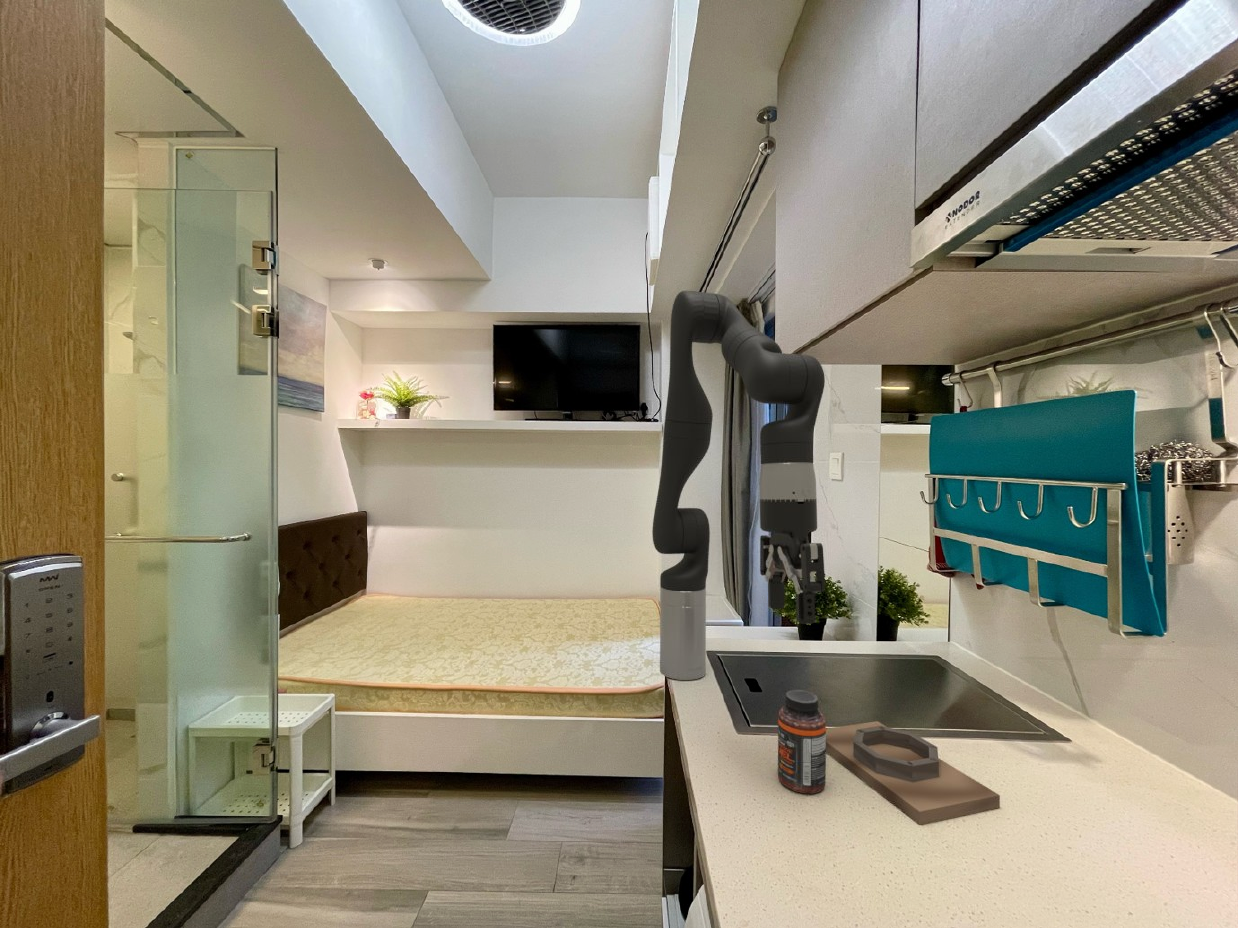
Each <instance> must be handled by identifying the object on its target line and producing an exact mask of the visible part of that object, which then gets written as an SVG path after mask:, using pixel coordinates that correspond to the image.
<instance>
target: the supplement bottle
mask: <svg viewBox="0 0 1238 928" xmlns="http://www.w3.org/2000/svg"><path fill="white" fill-rule="evenodd" d="M777 719H778V720H777V775H778V779H779V781H780V782H781V783H782V784H783V786H785V787H787V788H788V789H790V790H792V791H794V792H797V793H802V794H817V793H818V792H821V791H822V790H823V789H824V788H826V787H825V786H826V779H827V777H826V774H827V773H826V771H827V770H826V769H827V765H826V764H827V761H826V760H827V753H826V729H827V723H826V718H825V716H824V714H823V713H822V712H821V711H820V710H819V698H818V696H817V695H816V694H814V693H812V692H811V691H809V690H803V689H792V690H788V691H787V692H786V693H785V705H784V706H782V707H781V708H780V709H779V711H778V716H777Z"/></svg>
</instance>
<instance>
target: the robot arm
mask: <svg viewBox="0 0 1238 928" xmlns="http://www.w3.org/2000/svg"><path fill="white" fill-rule="evenodd" d="M669 335H670V336H669V337H670V338H669V340H670V341H669V342H670V344H669V346H670V347H669V349H670V350H669V376H668V377H669V378H668V388H667V389H668V390H667V399H666V407H665V408H666V409H665V415H664V423H663V424H664V426H663V436H662V455H661V456H662V457H661V467H660V468H661V469H660V477H659V485H658V490H657V496H656V501H655V507H654V513H653V519H652V520H653V521H652V528H651V529H652V531H651V532H652V543H653V546H654V549H655V550H656V551H657V553H659V554H662V555H675V554H676V555H682V554H683V556H682V558H681V560H680V561H678V563H677V564H675V565H673V566H671V567H669V568H667V569H665V570H663V571H662V572H661V574H660V577H659V578H660V579H659V587H660V589H659V591H660V596H659V597H660V598H659V600H660V601H659V605H660V607H659V609H660V610H659V616H660V617H659V618H660V619H659V621H660V622H659V626H660V627H659V672H660V673H661V675H663V676H665V677H667V678H669V679H673V680H680V681H692V680H698V679H701V678H702V677H704V676H705V675H706V667H707V666H706V657H707V656H706V655H707V654H706V653H707V652H706V649H707V648H706V647H707V645H706V644H707V642H706V641H707V640H706V639H707V635H706V634H707V633H706V632H707V622H706V621H707V616H706V615H707V600H706V597H707V595H706V594H707V577H708V573H709V557H710V556H709V555H710V537H711V535H710V534H711V532H710V522H709V518H708V516H707V513H706V512H705V511H704V510H703V509H702V508H699V507H679V504H680V499H681V496H682V495H681V494H682V492H683V490H684V487H685V485H686V484H687V482H688V480H689V479H690V477H691V475H692V474H693V473H694V472H695V470H696V469H697V468H698V467H699V465H700V463H701V462H702V460H703V459H704V457H705V456H706V454H707V453H708V450H709V447H710V445H711V438H712V437H711V436H712V429H713V428H712V427H713V408H712V406H711V403H710V401H709V399H708V396H707V395H706V393H705V391H704V389H703V387H702V384H701V383H700V381H699V378H698V375H697V373H696V370H695V367H694V361H693V360H694V359H693V358H694V357H693V343H697V344H720V346H721V347H720V348H721V353H722V357H723V359H724V361H725V362H726V363H727V365H729V366H730V368H732V369H733V370H734V372H736V373H738V374H739V375H740V377H741V380H742V383H743V385H744V388H745V391H746V393H747V395H748V396H749V397H750V398H751V399H752V400H755V401H756V402H758V403H761V404H766V405H767V404H768V405H771V404H772V405H788V408H787V412H786V414H785V417H784V418H783V419H779V420H774V421H770V422H768V423H764V425H763V426H762V427H761V429H760V431H759V432H760V433H759V445H760V446H759V448H760V451H759V452H760V470H759V471H760V473H759V478H758V479H759V482H758V485H759V528H760V529H761V531H764V532H765V533H766V532H767V533H770V534H765V535H760V536H759V542H760V543H759V553H760V554H759V574H760V575H761V576H764V577H765V581H766V583H767V596H768V599H767V600H768V601H767V602H768V603H767V604H768V607H769V609H772V610H782V609H783V610H784V608H786V594H785V593H786V591H785V589H786V588H785V582H784V581H785V579H786V576H787V578H788V579H790V580H792V582H793V586H794V589H795V591H796V594H795V604H796V605H795V606H796V607H795V608H796V609H795V612H796V615H795V616H796V622H797V623H799V624H802V625H807V624H814V623H815V622H816V604H815V603H816V602H815V601H816V600H815V599H816V598H815V595H816V594H817V593H818V592H825V591H826V575H825V560H824V559H825V558H824V547H823V546H824V545H823V544H822V543H819V542H818V543H816V542H810V541H809V536H808V535H809V533H814V532H815V531H817V530H818V509H817V508H818V505H817V504H818V503H817V502H818V501H817V500H818V498H817V479H816V477H817V476H816V473H815V465H814V439H813V437H814V436H813V435H814V431H815V426H816V422H817V419H818V413H819V409H820V406H821V405H820V404H821V401H822V398H823V393H824V391H825V389H824V388H825V385H826V384H825V383H826V382H825V381H826V380H825V378H826V377H825V372H824V368H823V366H822V364H821V363H820V361H819V360H818V359H817V358H816V357H814V356H812V355H809V354H800V353H799V354H797V353H786V352H785V353H783V351H782V349H781V347H780V345H779V344H778V343H777V342H776V341H775V340H774V339H773V338H771V337H769V336H768V335H767V334H764V333H763V332H762V331H760V330H759V329H757V328H756V327H754V326H752V325H751V323H749V321H748V320H747V319H746V317H745V316H744V315H743V314H742V313H741V311H740V310H739V309H738V308H737V306H736V304H734V302H733V301H732V300H730V299H729V297H727V296H724V295H722V294H718V293H714V292H713V293H712V292H702V291H697V290H695V291H693V290H682V291H680V292H678V294H677V295H676V296H675V298H674V301H673V304H672V309H671V316H670V334H669ZM815 575H816V577H815ZM801 579H802V580H801Z"/></svg>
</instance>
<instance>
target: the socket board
mask: <svg viewBox="0 0 1238 928" xmlns="http://www.w3.org/2000/svg"><path fill="white" fill-rule="evenodd" d="M938 750H939V748H938V746H936V745H935V744H932V743H931V742H929V741H928V740H926V739H924V738H923V737H921V736H919V735H917V734H916V733H914V732H912V731H911V732H910V731H906V730H901V729H896V728H892V727H888V726H886V725H884V724H883V723H881V722H879V721H878V720H877V721H869V722H864V723H863V722H862V723H857V724H849V725H842V726H835V727H829V728H826V754H827V755H828V756H831V758H833V760H836V761H837V762H838V763H839V764H840V765H842V766H843V767H844V768H845V769H847V770H849V772H851V773H852V774H854V776H856V777H857V778H858V779H860V780H861V781H862V782H864V783H865V784H866V785H868V786H869V787H870V788H871V789H873V790H874V791H875V792H876V793H878V794H879V795H880V796H882V797H883V799H886V800H887V801H889V802H890V803H891V804H892V805H893V806H895V807H896V808H897V809H899V811H901V812H903V814H905V815H906V816H908V817H909V818H910V819H911V820H913V821H914V822H915V823H916V824H917V825H919V826H921V825H927V824H930V823H931V824H932V823H935V822H939V821H945V820H949V819H954V818H959V817H962V816H967V815H971V814H976V813H981V812H982V813H983V812H986V811H990V810H996V809H999V808H1001V803H1000V802H1001V799H1000V797H1001V795H1000V794H999V793H997V792H996V791H994V790H992V789H990V788H989V787H987V786H985V785H983V784H982V783H980V782H979V781H977V780H976V779H974V778H972V777H970V776H969V775H967V774H965V773H964V772H962V771H960V770H959V769H957V768H956V767H954V766H952V765H950V764H949V763H947V761H944V760H942V759H941V758H939V752H938Z"/></svg>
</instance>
